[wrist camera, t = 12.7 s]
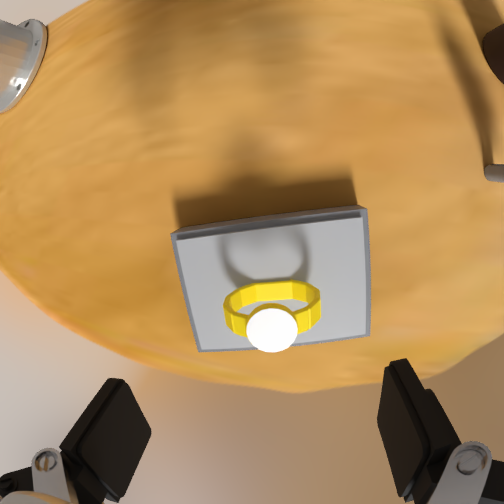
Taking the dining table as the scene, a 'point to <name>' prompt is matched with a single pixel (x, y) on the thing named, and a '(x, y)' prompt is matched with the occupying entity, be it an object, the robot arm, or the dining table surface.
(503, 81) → the bottle
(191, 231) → the stand
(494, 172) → the mechanical component
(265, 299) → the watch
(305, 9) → the dining table surface
